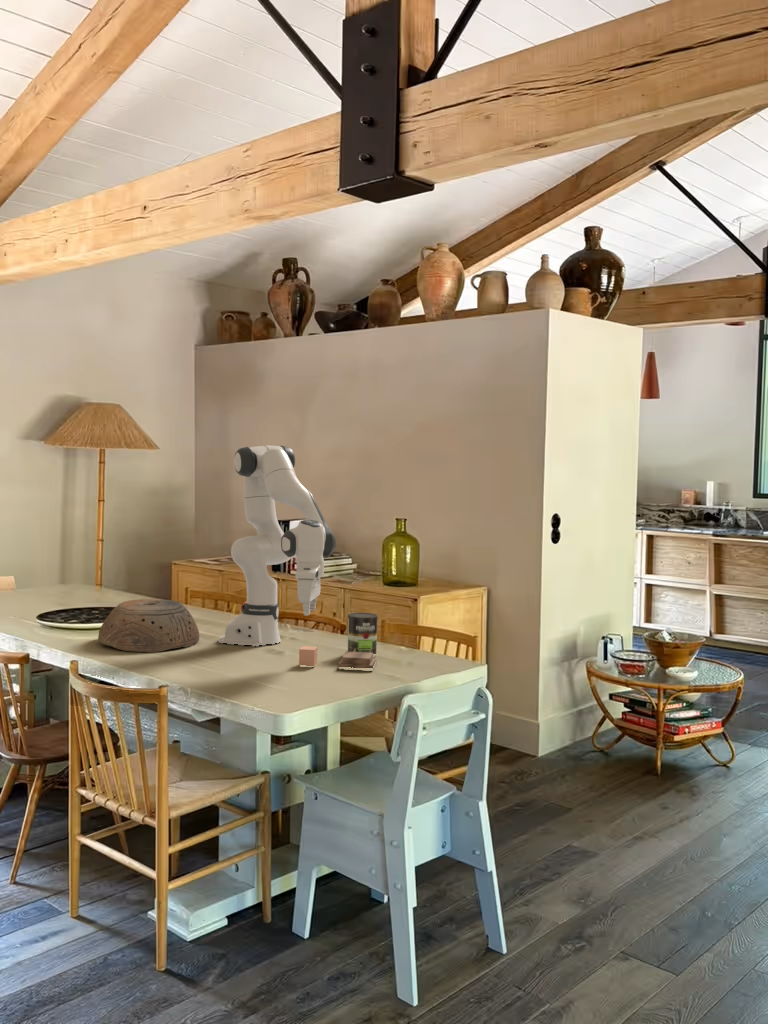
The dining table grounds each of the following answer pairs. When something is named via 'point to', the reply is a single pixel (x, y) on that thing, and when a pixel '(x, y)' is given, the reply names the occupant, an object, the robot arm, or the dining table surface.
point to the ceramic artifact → (149, 626)
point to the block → (308, 656)
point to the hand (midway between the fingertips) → (309, 612)
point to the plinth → (357, 660)
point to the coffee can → (362, 632)
